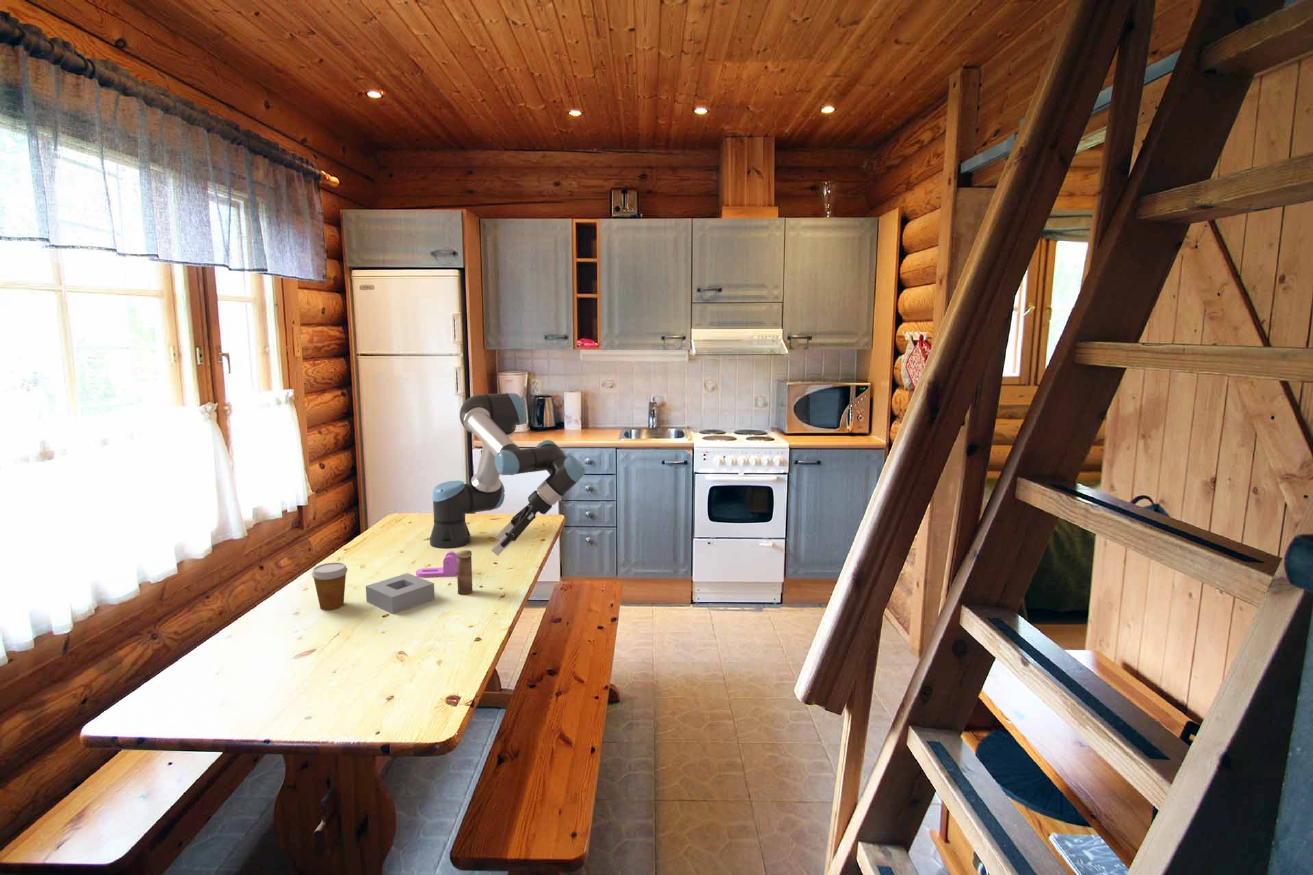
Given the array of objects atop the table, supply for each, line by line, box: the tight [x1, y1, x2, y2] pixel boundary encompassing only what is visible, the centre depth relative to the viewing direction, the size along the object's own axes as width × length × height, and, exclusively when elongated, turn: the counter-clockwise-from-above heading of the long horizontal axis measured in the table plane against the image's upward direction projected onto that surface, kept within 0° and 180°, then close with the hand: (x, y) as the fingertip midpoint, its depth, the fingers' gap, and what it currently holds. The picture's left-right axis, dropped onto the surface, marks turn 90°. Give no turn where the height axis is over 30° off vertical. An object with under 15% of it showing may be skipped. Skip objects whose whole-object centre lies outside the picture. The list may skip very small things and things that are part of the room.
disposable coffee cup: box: [311, 561, 348, 611], centre depth 195 cm, size 10×10×12 cm
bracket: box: [415, 551, 457, 579], centre depth 222 cm, size 13×6×7 cm, turn 99°
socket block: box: [365, 572, 436, 615], centre depth 200 cm, size 14×14×5 cm
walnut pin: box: [455, 549, 473, 596], centre depth 206 cm, size 5×5×13 cm
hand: (496, 545), depth 206 cm, fingers open, 13 cm apart
